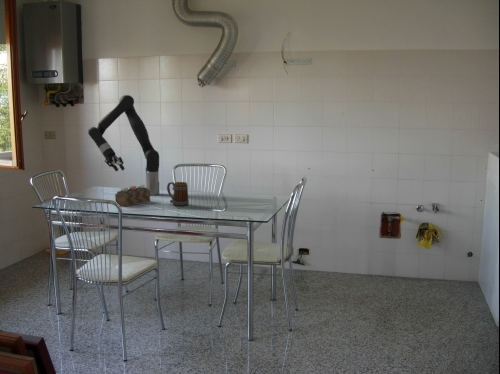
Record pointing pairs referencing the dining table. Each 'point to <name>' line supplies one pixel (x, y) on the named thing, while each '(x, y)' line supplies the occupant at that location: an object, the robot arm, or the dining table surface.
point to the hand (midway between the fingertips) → (120, 170)
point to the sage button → (124, 189)
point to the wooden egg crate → (132, 197)
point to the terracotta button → (132, 188)
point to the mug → (179, 194)
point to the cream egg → (141, 186)
